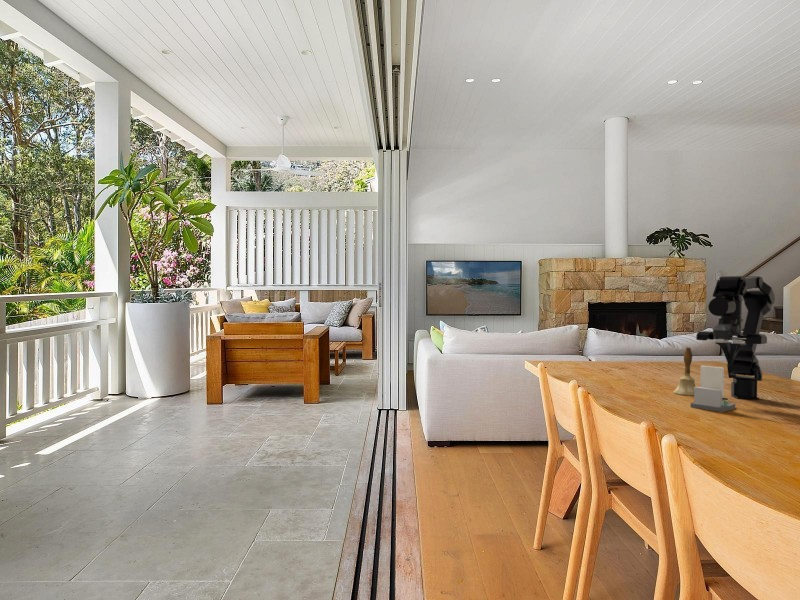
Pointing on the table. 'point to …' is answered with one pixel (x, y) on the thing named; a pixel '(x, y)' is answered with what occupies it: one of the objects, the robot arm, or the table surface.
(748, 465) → the table surface
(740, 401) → the table surface
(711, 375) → the cream block
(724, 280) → the robot arm
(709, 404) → the gauge base
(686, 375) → the hand bell
